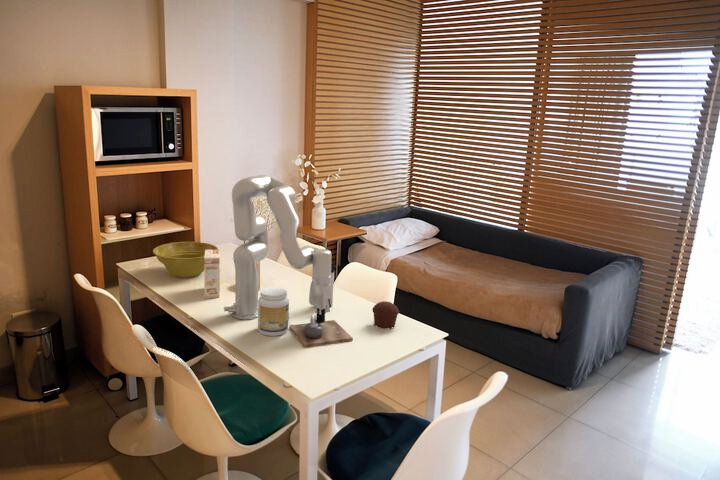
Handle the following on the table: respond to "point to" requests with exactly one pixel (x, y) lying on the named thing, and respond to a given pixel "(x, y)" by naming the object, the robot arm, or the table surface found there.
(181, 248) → the planter bowl
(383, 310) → the muffin
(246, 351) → the table surface
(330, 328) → the board
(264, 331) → the supplement tub
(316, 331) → the grey knobbed bar
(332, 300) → the travel mug
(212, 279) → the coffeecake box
